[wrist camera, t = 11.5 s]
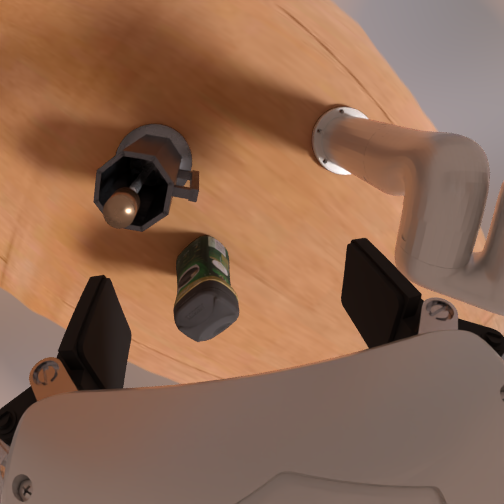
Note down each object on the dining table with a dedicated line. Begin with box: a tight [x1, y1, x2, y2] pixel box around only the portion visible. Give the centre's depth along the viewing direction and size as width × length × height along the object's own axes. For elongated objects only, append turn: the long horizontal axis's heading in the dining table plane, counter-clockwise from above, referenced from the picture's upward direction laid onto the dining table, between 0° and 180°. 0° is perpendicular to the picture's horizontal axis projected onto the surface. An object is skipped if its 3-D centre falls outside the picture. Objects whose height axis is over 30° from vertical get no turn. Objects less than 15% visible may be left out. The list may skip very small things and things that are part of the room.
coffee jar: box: [174, 236, 239, 342], centre depth 48 cm, size 10×8×19 cm
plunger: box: [103, 157, 166, 229], centre depth 35 cm, size 7×7×22 cm
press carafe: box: [94, 124, 199, 232], centre depth 39 cm, size 14×13×17 cm
